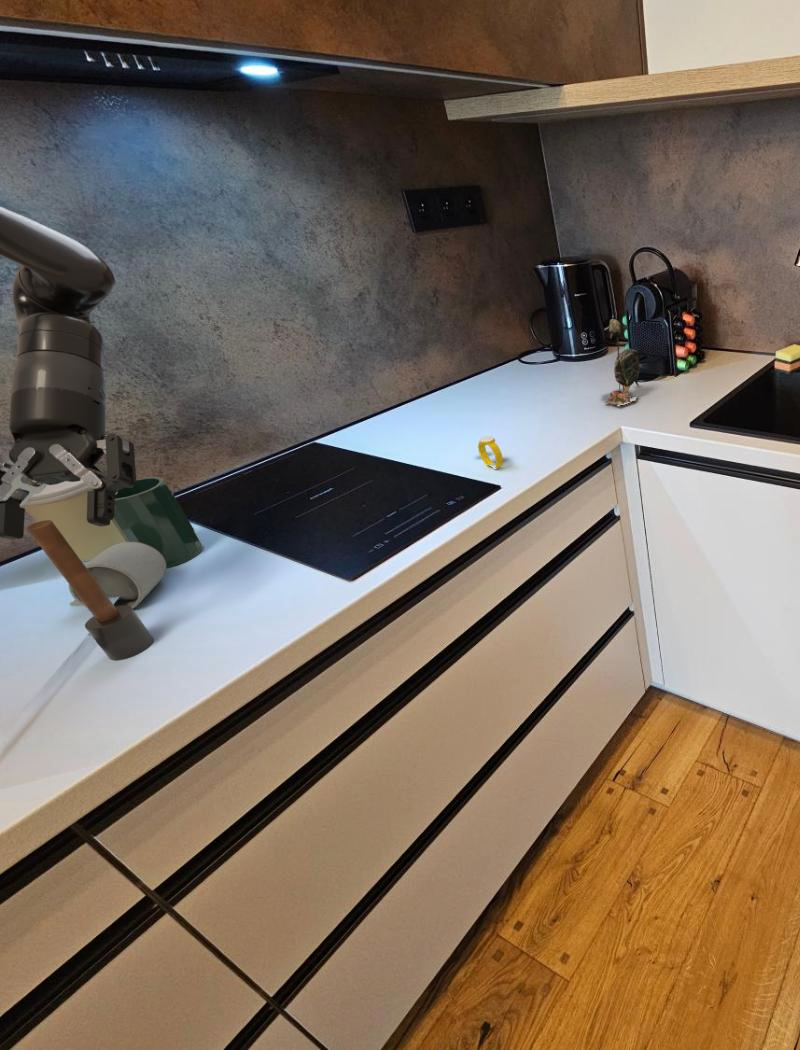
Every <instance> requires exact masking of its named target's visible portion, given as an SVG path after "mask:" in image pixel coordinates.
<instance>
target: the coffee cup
mask: <svg viewBox="0 0 800 1050" xmlns="http://www.w3.org/2000/svg"><path fill="white" fill-rule="evenodd" d="M18 491H19V489H17V491H15V494H16V493H17V492H18ZM87 491H92V488H90V487H89V486H88V485H87V484H86V483H85V482H84V481H83V480H82V479H81V481H76V482H67V481H65V482H62V483H59V484H55V485H47V486H46V487H45V488H44V489H43V490H42V491H41V492H40V493H38V494H34V495H33V496H32V497H31V498H30V499H29V500H28V501H27V502H26V503H25V505H24V506H23V507H22V508H25V512H27V513H28V514H29V516H30V517H31V518H32V519H33V520H34V522H35V523H37V522H40V521H45V520H51V521H52V522H53V523H54V525H55V526H56V527H57V529H58V530H59V531H60V533H61V534H62V535H63V537H64V538H65V540H66V541H67V542H68V544H69V545H70V546H71V548H72V549H73V550H74V552H75V553H76V554H77V556H78V557H79V559H80V560H81V561H82V563H87V562H89V561H90V560H92V559H93V558H95V557H96V556H98V555H99V554H100V553H101V552H103V551H105V550H106V549H108V548H109V547H112V546H114V545H116V544H120V543H124V542H126V541H125V539H124V538H123V536H122V535H121V533H120V532H119V530H118V529H117V527H116V526H115V524H114V523H113V521H112V520H110V525H108V526H101V527H100V526H97V525H93V524H90V523H89V522H88V521H87Z"/></svg>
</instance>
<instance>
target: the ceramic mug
mask: <svg viewBox="0 0 800 1050" xmlns="http://www.w3.org/2000/svg"><path fill="white" fill-rule="evenodd" d="M83 564H84V565H85V567H86V568H87V569H88V571H89V572H90V574H91V575H92V576H93V578H94V579H95V580H96V582H97V583H98V584H99V586H100V587H101V589H102V590H103V591H104V593H105V594H106V595H107V597H108V598H118V599H116V601H115V602H113V603H112V604H113V605H114V606H115V607H117V606H130V607H132V609H133V610H134V608H137V606H138V605H139V604H140V603H141V602H142V601H143V600H144V599H145V598H146V597H147V596H148V595H149V594H150V593H151V591H152V590H154V588H155V587H156V586H157V585H158V584H159V583H160V582H161V580H162V579H163V577H164V576H165V574H166V571H167V568H166V561H165V559H164V557H163V556H162V554H161V553H160V552H159V551H158V550H156V549H155V548H153V547H151V546H149V545H146V544H144V543H140V542H124V543H120V544H116V545H114V546H112V547H109V548H108V549H106V550H105V551H103V552H101V553H100V554H99V555H98V556H96V557H95V558H93V559H92V560H90V561H87V562H85V563H83ZM68 592H69V593H70V595H71V596H72V598H73V599H74V600H73V601H71V602H70V603H69V605H70V606H73V607H85V608H87V607H86V605H85V604H84V603H83V601H82V600H81V599H80V597H79V596H78V595H77V594H76V592H75V591H74V590H73V588H72V587H71V586H70V584H69V583H68Z"/></svg>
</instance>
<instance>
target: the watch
mask: <svg viewBox="0 0 800 1050" xmlns="http://www.w3.org/2000/svg"><path fill="white" fill-rule="evenodd" d="M477 445H478V446H477V448H478V453H479V456H480V459H481V460H482V462H483V463H484V465H485V466H486V465H489V466H490V465H491V464H492V465H493V464H496V467H495V468H498V469H500V468H502V466H503V465H504V457H503V453H502V451H501V449H500V447H499V445H498V444H497V443H496V438H495V436H493V435H492V436H491V435H487V436H483V437H481V438H480V439H479V441H478V444H477ZM486 446H488V447H489V448H490V449H491V452H492V453H493V455H494V458H495V462H493V461H492V459H491V458H490V457H489V454H488V452H487V448H486ZM489 466H488V467H489ZM499 467H500V468H499Z"/></svg>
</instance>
